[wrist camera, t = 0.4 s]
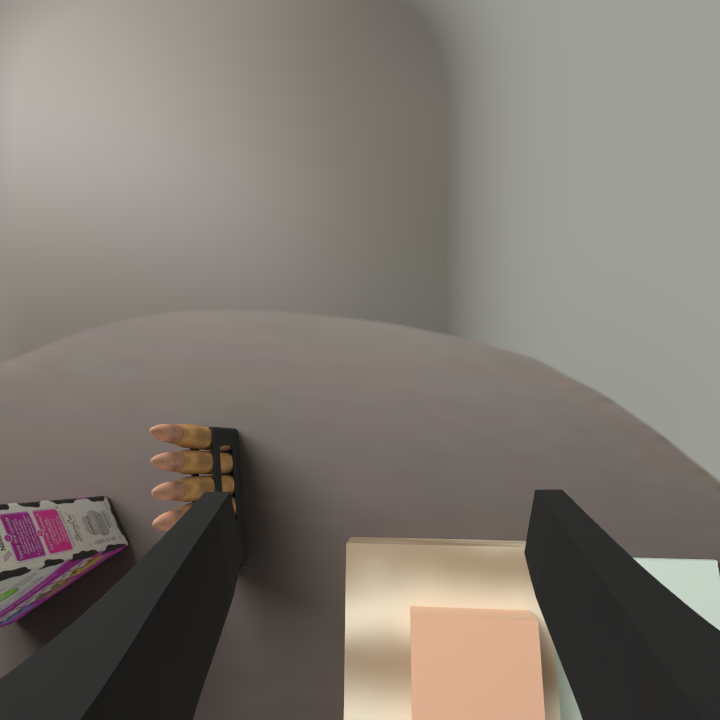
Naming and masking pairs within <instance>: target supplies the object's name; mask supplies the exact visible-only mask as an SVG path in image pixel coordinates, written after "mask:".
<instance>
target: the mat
mask: <svg viewBox="0 0 720 720" xmlns="http://www.w3.org/2000/svg"><path fill="white" fill-rule="evenodd" d="M633 559H635V560H636V561H637V562H638V563H639V564H640V565H641V566H642V567H643V568H645V569H646V570H647V571H648V572H649V573H650V574H651V575H652V576H654V577H655V578H656V579H657V580H658V581H659V582H660V583H662V584H663V585H664V586H665V587H666V588H668V589H669V590H670V591H671V592H672V593H674V594H675V595H676V596H677V597H678V598H679V599H681V600H682V601H683V602H684V603H685V604H687V605H688V606H689V607H690V608H691V609H693V610H694V611H695V612H696V613H698V614H699V615H700V616H702V617H703V618H704V619H705V620H707V621H708V622H709V623H710V624H712V625H713V626H714V627H716V628H717V629H718V630H720V575H719V569H718V562H717V561H716V560H706V559H666V558H633ZM555 656H556V669H557V681H558V694H559V707H560V719H561V720H582V717H581V714H580V711H579V708H578V705H577V703H576V700H575V697H574V695H573V692H572V690H571V687H570V685H569V682H568V680H567V677H566V674H565V672H564V669H563V667H562V664H561V662H560V659H559V656H558V654H557V651H556V649H555Z"/></svg>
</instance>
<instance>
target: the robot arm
mask: <svg viewBox="0 0 720 720" xmlns="http://www.w3.org/2000/svg"><path fill="white" fill-rule="evenodd" d="M524 554H525V558H526V562H527V566H528V570H529V574H530V578H531V582H532V586H533V589H534V593H535V596H536V599H537V602H538V605H539V607H540V610H541V613H542V615H543V618H544V620H545V623H546V626H547V628H548V631H549V633H550V636H551V639H552V641H553V644H554V646H555V649H556V651H557V654H558V656H559V659H560V662H561V664H562V667H563V669H564V672H565V674H566V677H567V680H568V682H569V685H570V687H571V690H572V692H573V695H574V697H575V700H576V703H577V705H578V708H579V711H580V714H581V717H582V720H720V630H718V629H717V628H716V627H714V626H713V625H712V624H710V623H709V622H708V621H707V620H705V619H704V618H703V617H702V616H700V615H699V614H698V613H696V612H695V611H694V610H693V609H691V608H690V607H689V606H688V605H687V604H685V603H684V602H683V601H682V600H681V599H679V598H678V597H677V596H676V595H675V594H674V593H672V592H671V591H670V590H669V589H668V588H666V587H665V586H664V585H663V584H662V583H660V582H659V581H658V580H657V579H656V578H655V577H654V576H652V575H651V574H650V573H649V572H648V571H647V570H646V569H645V568H643V567H642V566H641V565H640V564H639V563H638V562H637V561H636V560H635V559H633V558H632V557H631V556H630V555H629V554H628V553H627V552H626V551H625V550H624V549H623V548H622V547H620V546H619V545H618V544H617V543H616V542H615V541H614V540H613V539H612V538H611V537H610V536H609V535H608V534H607V533H606V532H605V531H604V530H603V529H602V528H601V527H600V526H599V525H598V524H596V523H595V522H594V521H593V520H592V519H591V518H590V517H589V516H588V515H587V514H586V513H585V512H584V511H583V510H582V509H581V508H580V507H579V506H578V505H577V504H576V503H575V502H574V501H573V500H572V499H571V498H570V497H569V496H568V495H567V494H566V493H565V492H564V491H563V490H535V494H534V500H533V506H532V511H531V517H530V523H529V528H528V534H527V540H526V545H525V551H524ZM241 558H242V548H241V543H240V538H239V533H238V528H237V523H236V517H235V512H234V507H233V502H232V497H231V492H205V493H204V494H203V495H202V496H201V497H200V498H199V499H198V500H197V501H196V502H195V503H194V504H193V505H192V506H191V507H190V508H189V509H188V510H187V512H186V513H185V514H184V515H183V516H182V517H181V518H180V519H179V520H178V521H177V522H176V523H175V524H174V526H173V527H172V528H171V529H170V530H169V531H168V532H167V533H166V534H165V535H164V536H163V537H162V538H161V539H160V540H159V541H158V542H157V543H156V544H155V545H154V547H153V548H152V549H151V550H150V551H149V552H148V553H147V554H146V555H145V556H144V557H143V558H142V559H141V560H140V561H139V562H138V563H137V564H136V565H135V566H134V567H133V568H132V569H131V570H130V571H129V572H128V573H127V574H126V575H125V576H123V577H122V578H121V579H120V580H119V581H118V582H117V583H116V584H115V585H114V586H113V587H112V588H111V589H110V590H109V591H108V592H107V593H106V594H105V595H103V596H102V597H101V598H100V599H99V600H98V601H97V602H96V603H95V604H94V605H93V606H91V607H90V608H89V609H88V610H87V611H86V612H85V613H84V614H82V615H81V616H80V617H79V618H78V619H77V620H75V621H74V622H73V623H72V624H71V625H69V626H68V627H67V628H66V629H65V630H63V631H62V632H61V633H60V634H59V635H57V636H56V637H55V638H54V639H53V640H51V641H50V642H49V643H48V644H46V645H45V646H44V647H43V648H41V649H40V650H39V651H37V652H36V653H35V654H33V655H32V656H31V657H29V658H28V659H27V660H25V661H24V662H23V663H21V664H20V665H19V666H17V667H16V668H15V669H13V670H12V671H11V672H9V673H8V674H7V675H5V676H4V677H3V678H1V679H0V720H193V717H194V713H195V710H196V707H197V703H198V700H199V697H200V694H201V691H202V688H203V685H204V682H205V679H206V676H207V673H208V670H209V667H210V665H211V662H212V659H213V656H214V653H215V650H216V647H217V644H218V641H219V638H220V635H221V632H222V629H223V626H224V623H225V620H226V617H227V614H228V611H229V608H230V605H231V602H232V599H233V595H234V591H235V587H236V582H237V578H238V573H239V568H240V563H241Z"/></svg>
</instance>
